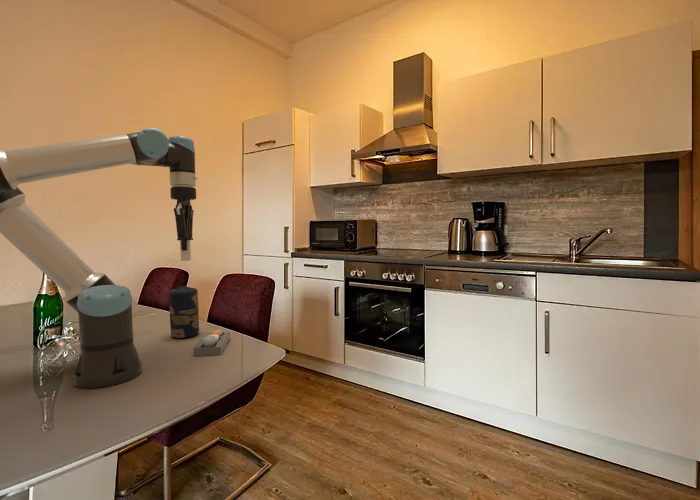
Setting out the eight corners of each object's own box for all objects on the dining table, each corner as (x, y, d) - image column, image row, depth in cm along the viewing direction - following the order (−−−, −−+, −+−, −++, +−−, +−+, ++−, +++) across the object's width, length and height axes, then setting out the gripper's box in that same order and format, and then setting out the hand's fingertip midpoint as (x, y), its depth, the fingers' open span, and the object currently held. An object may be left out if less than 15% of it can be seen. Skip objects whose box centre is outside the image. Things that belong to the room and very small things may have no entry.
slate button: (213, 347, 113) (213, 339, 113) (201, 347, 112) (201, 339, 112) (216, 343, 116) (216, 335, 116) (204, 344, 116) (204, 336, 116)
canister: (192, 339, 128) (190, 288, 127) (165, 339, 128) (163, 288, 127) (203, 331, 138) (202, 284, 136) (178, 331, 138) (176, 284, 137)
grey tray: (220, 354, 113) (220, 346, 112) (193, 356, 111) (193, 348, 111) (230, 339, 128) (230, 331, 128) (206, 340, 127) (206, 333, 127)
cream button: (217, 344, 118) (217, 337, 118) (206, 345, 118) (205, 337, 118) (220, 341, 122) (219, 333, 122) (208, 341, 121) (208, 334, 121)
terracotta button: (221, 339, 124) (220, 332, 124) (210, 340, 123) (209, 332, 123) (223, 336, 127) (223, 329, 127) (212, 336, 127) (212, 329, 127)
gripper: (189, 184, 111) (192, 262, 113) (200, 189, 124) (203, 258, 126) (163, 184, 110) (166, 262, 112) (177, 189, 123) (180, 259, 125)
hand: (186, 260), depth 119 cm, fingers closed
